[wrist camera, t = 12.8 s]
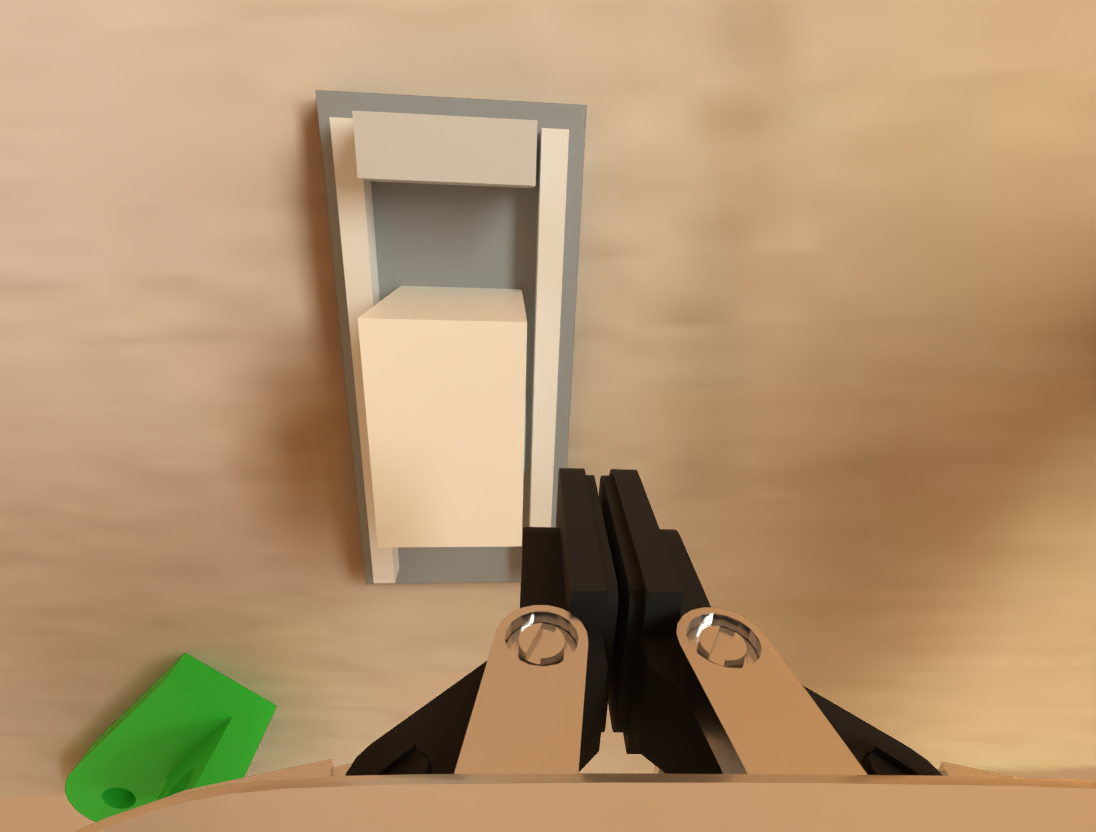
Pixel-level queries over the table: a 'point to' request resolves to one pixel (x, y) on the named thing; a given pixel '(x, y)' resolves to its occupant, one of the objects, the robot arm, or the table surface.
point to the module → (446, 415)
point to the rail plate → (458, 267)
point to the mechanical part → (171, 742)
